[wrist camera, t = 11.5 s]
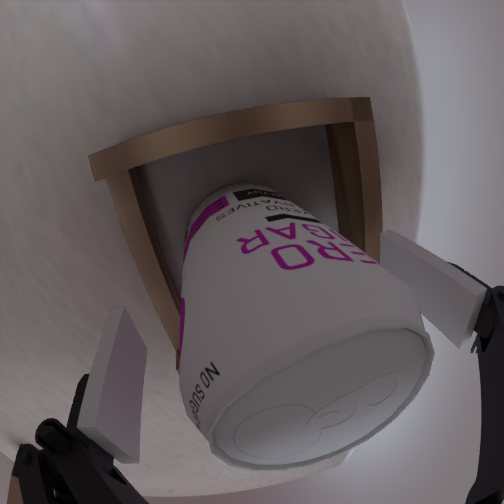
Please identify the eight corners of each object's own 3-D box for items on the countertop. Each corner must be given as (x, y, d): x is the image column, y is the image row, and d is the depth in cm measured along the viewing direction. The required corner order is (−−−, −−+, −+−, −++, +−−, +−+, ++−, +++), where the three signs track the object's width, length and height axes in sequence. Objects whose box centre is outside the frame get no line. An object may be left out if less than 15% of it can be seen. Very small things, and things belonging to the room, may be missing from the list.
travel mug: (53, 465, 31) (46, 538, 12) (24, 453, 28) (12, 522, 10) (46, 453, 28) (35, 534, 10) (14, 439, 26) (-1, 515, 8)
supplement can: (212, 302, 21) (247, 489, 8) (167, 207, 18) (111, 389, 4) (307, 264, 22) (425, 410, 8) (278, 164, 18) (464, 239, 5)
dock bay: (182, 347, 23) (183, 381, 19) (109, 152, 16) (87, 156, 12) (356, 296, 24) (378, 319, 21) (339, 102, 17) (369, 97, 14)
